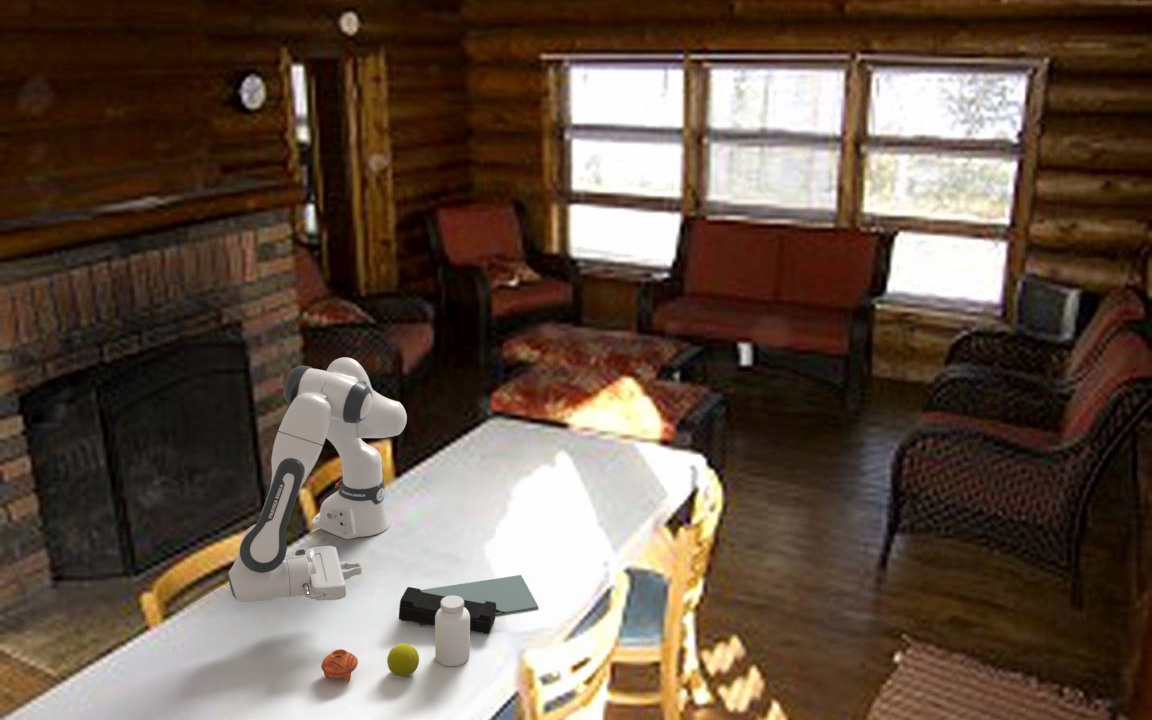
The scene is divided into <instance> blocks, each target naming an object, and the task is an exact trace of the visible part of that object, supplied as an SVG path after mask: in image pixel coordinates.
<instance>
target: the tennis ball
mask: <svg viewBox="0 0 1152 720" xmlns="http://www.w3.org/2000/svg"><path fill="white" fill-rule="evenodd" d="M386 660H387V661H386V662H387V668H388V669H389V671H390V672H391V673H392V674H393V676H396V677H399V678H403V677H404V678H406V677H408V676H412V674H414V673H415V671H417V669H418V666H419V662H420V657H419V652H418V651H417V649H416V647H414V646H413V645H412V644H408V643H399V644H397V645H395V646H393V647H392V648H391V650H390V651H389V653H388V656H387V659H386Z"/></svg>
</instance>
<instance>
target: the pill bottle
mask: <svg viewBox="0 0 1152 720" xmlns="http://www.w3.org/2000/svg"><path fill="white" fill-rule="evenodd" d="M434 631H435V632H434V634H435V635H434V639H435V640H434V641H435V644H434V645H435V647H434V648H435V649H434V651H435V659H436V661H437V663H439V665H442V666H445V667H458V666H462V665H464V664H465V663H467V662H468V660H469V658H470V655H471V653H470V652H471V631H470V614H469V612H468V610H467V609H466V608H465V607H464V600H463V599H462V598H461V597H459V596H455V595H451V596H447V597H444V598H443V599H442V600H441V608H440V609H439V610H438V611H437V613H436V615H435V625H434Z"/></svg>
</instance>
